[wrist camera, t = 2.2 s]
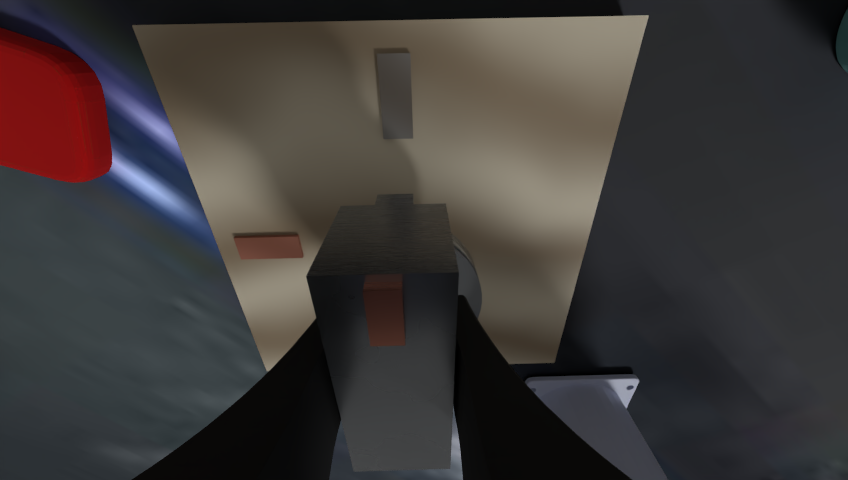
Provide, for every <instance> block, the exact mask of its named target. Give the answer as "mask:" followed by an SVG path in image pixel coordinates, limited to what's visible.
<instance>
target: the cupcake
mask: <svg viewBox="0 0 848 480" xmlns="http://www.w3.org/2000/svg"><path fill="white" fill-rule="evenodd" d="M836 55H837V59H838V62H839V64H840V65H841V67H842V68H843V69H844V70H845V71H846V72H847V73H848V8H847V10H846V12H845V14H844V16H843V18H842V21H841V23H840V26H839V29H838V33H837V38H836Z"/></svg>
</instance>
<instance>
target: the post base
mask: <svg viewBox="0 0 848 480" xmlns="http://www.w3.org/2000/svg"><path fill="white" fill-rule="evenodd" d="M648 16H649V15H644V16H591V17H538V18H485V19H432V20H379V21H326V22H273V23H220V24H167V25H132V27H133V29H134V32H135V35H136V37H137V40H138V42H139V45H140V47H141V50H142V52H143V55H144V58H145V60H146V63H147V65H148V68H149V70H150V73H151V76H152V78H153V81H154V83H155V86H156V88H157V91H158V94H159V96H160V99H161V101H162V104H163V106H164V109H165V111H166V114H167V117H168V119H169V122H170V124H171V127H172V129H173V132H174V135H175V137H176V140H177V142H178V145H179V147H180V150H181V152H182V155H183V158H184V160H185V163H186V165H187V168H188V170H189V173H190V176H191V178H192V181H193V183H194V186H195V188H196V191H197V193H198V196H199V199H200V201H201V204H202V206H203V209H204V211H205V214H206V217H207V219H208V222H209V224H210V227H211V229H212V232H213V235H214V237H215V240H216V242H217V245H218V247H219V250H220V252H221V255H222V258H223V260H224V263H225V265H226V268H227V270H228V273H229V276H230V278H231V281H232V283H233V286H234V288H235V291H236V293H237V296H238V299H239V301H240V304H241V306H242V309H243V311H244V314H245V317H246V319H247V322H248V324H249V327H250V329H251V332H252V334H253V337H254V340H255V342H256V345H257V347H258V350H259V352H260V355H261V358H262V360H263V363H264V365H265V368H266V370H267V371H270V370H271V369H272V368H273V367H274V365H275V364H276V363H277V362H278V361H279V360H280V359H281V358H282V357H283V356H284V355H285V354H286V353H287V352H288V350H289V349H290V348H291V347H292V346H293V345H294V344H295V343H296V341H297V340H298V339H299V338H300V337H301V336H302V334H303V333H304V332H305V331H306V330H307V328H308V327H309V326H310V325H311V324H312V322H313V321H314V320H315V319H316V315H315V311H314V307H313V303H312V299H311V295H310V291H309V286H308V282H307V278H306V275H307V273H308V271H309V269H310V267H311V265H312V263H313V261H314V259H315V257H316V255H317V253H318V251H319V249H320V247H321V245H322V243H323V241H324V239H325V237H326V235H327V233H328V231H329V229H330V227H331V225H332V223H333V221H334V219H335V217H336V215H337V213H338V211H339V209H340V207H341V206H357V205H375V202H376V199H377V195H379V194H413V197H414V204H441V203H446V208H447V213H448V218H449V223H450V228H451V233H452V234H453V235H454V236H456V237H457V238H458V239H459V240H460V241H461V242H462V243H463V244H464V246H465V247H466V248H467V250H468V251H469V253H470V255H471V257H472V259H473V261H474V264H475V267H476V271H477V275H478V278H479V282H480V286H481V291H482V305H481V311H480V314H479V317H478V321H479V322H480V324H481V325H482V327H483V329H484V330H485V332H486V333H487V334H488V336H489V337H490V339H491V340H492V342H493V343H494V345H495V346H496V347H497V349H498V350H499V352H500V353H501V354H502V355H503V357H504V358H505V359H506V361H507V362H508V363H509V364H528V363H555V359H556V355H557V352H558V348H559V344H560V340H561V337H562V333H563V329H564V326H565V322H566V318H567V315H568V311H569V307H570V304H571V300H572V296H573V293H574V289H575V285H576V282H577V278H578V274H579V270H580V267H581V263H582V259H583V256H584V252H585V248H586V245H587V241H588V237H589V234H590V230H591V226H592V223H593V219H594V215H595V211H596V208H597V204H598V200H599V197H600V193H601V189H602V186H603V182H604V178H605V175H606V171H607V167H608V164H609V160H610V156H611V152H612V149H613V145H614V141H615V138H616V134H617V130H618V127H619V123H620V119H621V116H622V112H623V108H624V105H625V101H626V97H627V94H628V90H629V86H630V82H631V79H632V75H633V71H634V68H635V64H636V60H637V57H638V53H639V49H640V46H641V42H642V38H643V35H644V31H645V27H646V23H647V20H648Z"/></svg>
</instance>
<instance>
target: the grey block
mask: <svg viewBox="0 0 848 480" xmlns="http://www.w3.org/2000/svg"><path fill="white" fill-rule="evenodd" d="M306 278H307V282H308V286H309V291H310V295H311V299H312V303H313V307H314V311H315V315H316V319H317V323H318V327H319V331H320V335H321V339H322V344H323V348H324V352H325V356H326V360H327V364H328V368H329V372H330V376H331V380H332V384H333V388H334V392H335V397H336V401H337V405H338V409H339V413H340V417H341V421H342V425H343V429H344V433H345V437H346V441H347V445H348V450H349V454H350V458H351V462H352V466H353V470H354V472H355V471H387V470H419V469H450V461H451V439H452V417H453V395H454V373H455V351H456V329H457V306H458V295H464V296H465V297H466V298H467V301H468V303H469V305H470V307H471V308H472V310H473V312H474V314H475V316H476V317H477V319H478V317H479V314H480V311H481V305H482V291H481V286H480V282H479V278H478V275H477V271H476V267H475V264H474V261H473V259H472V257H471V255H470V253H469V251H468V250H467V248H466V247H465V246H464V244H463V243H462V242H461V241H460V240H459V239H458V238H457V237H456V236H454V235H453V234H452V233H451V228H450V223H449V218H448V213H447V208H446V203H441V204H414V197H413V194H379V195H377V199H376V202H375V205H357V206H341V207H340V209H339V211H338V213H337V215H336V217H335V219H334V221H333V223H332V225H331V227H330V229H329V231H328V233H327V235H326V237H325V239H324V241H323V243H322V245H321V247H320V249H319V251H318V253H317V255H316V257H315V259H314V261H313V263H312V265H311V267H310V269H309V271H308V273H307V275H306Z"/></svg>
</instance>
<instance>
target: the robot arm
mask: <svg viewBox="0 0 848 480" xmlns="http://www.w3.org/2000/svg"><path fill="white" fill-rule="evenodd" d="M638 383H639V379H638V378H637V376H636V375H634V374H617V375H582V376H547V377H530V378H528V379H527V380H526V381H525V382H524V381H523V380H522V379H521V378H520V377H519V375H518V374H517V373H516V372H515V371H514V369H513V368H512V367H511V366H510V365H509V363H508V362H507V361H506V359H505V358H504V357H503V355H502V354H501V353H500V352H499V350H498V349H497V347H496V346H495V345H494V343H493V342H492V340H491V339H490V337H489V336H488V334H487V333H486V332H485V330H484V329H483V327H482V325H481V324H480V322H479V321H478V319H477V317H476V316H475V314H474V312H473V310H472V308H471V307H470V305H469V303H468V301H467V298H466V297H465V296H464V295H458V306H457V329H456V351H455V373H454V395H453V406H454V411H455V417H456V423H457V428H458V434H459V442H460V450H461V460H462V471H463V480H668V479H667V477H666V475H665V474H664V472H663V470H662V469H661V467H660V465H659V464H658V462H657V460H656V458H655V457H654V455H653V453H652V452H651V450H650V448H649V447H648V445H647V443H646V441H645V440H644V438H643V436H642V435H641V433H640V431H639V430H638V428H637V426H636V425H635V423H634V421H633V419H632V418H631V416H630V414H629V413H628V411H627V409H626V408H627V406H628V404H629V402H630V399H631V397H632V395H633V393H634V391H635V389H636V387H637V385H638ZM340 421H341V417H340V413H339V409H338V405H337V401H336V397H335V392H334V388H333V384H332V380H331V376H330V372H329V368H328V364H327V360H326V356H325V352H324V348H323V344H322V339H321V335H320V331H319V327H318V323H317V319H315V320H314V321H313V322H312V324H311V325H310V326H309V327H308V328H307V330H306V331H305V332H304V333H303V334H302V336H301V337H300V338H299V339H298V340H297V341H296V343H295V344H294V345H293V346H292V347H291V348H290V349H289V350H288V352H287V353H286V354H285V355H284V356H283V357H282V358H281V359H280V360H279V361H278V362H277V363H276V364H275V365H274V367H273V368H272V369H271V370H270V371H269V372H268V373H267V374H266V375H265V376H264V377H263V378H262V379H261V380H260V381H258V382H257V383H256V384H255V385H254V386H253V387H252V388H251V389H250V390H249V391H248V392H247V393H246V394H245V395H243V396H242V397H241V398H240V399H239V400H238V401H237V402H235V403H234V404H233V405H232V406H231V407H230V408H228V409H227V410H226V411H225V412H223V413H222V414H221V415H220V416H219V417H217V418H216V419H215V420H214V421H213V422H211V423H210V424H209V425H208V426H206V427H205V428H204V429H203V430H201V431H200V432H199V433H197V434H196V435H195V436H193V437H192V438H191V439H189V440H188V441H187V442H185V443H184V444H183V445H181V446H180V447H178V448H177V449H176V450H174V451H173V452H172V453H170V454H169V455H167V456H166V457H165V458H163V459H162V460H160V461H159V462H157V463H156V464H155V465H153V466H152V467H150V468H149V469H147V470H146V471H144V472H143V473H141V474H140V475H138V476H137V477H135V478H134V479H132V480H329V476H330V469H331V463H332V457H333V451H334V446H335V441H336V437H337V433H338V429H339V425H340Z"/></svg>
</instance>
